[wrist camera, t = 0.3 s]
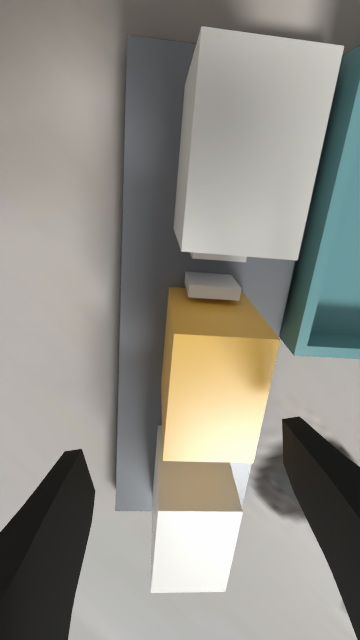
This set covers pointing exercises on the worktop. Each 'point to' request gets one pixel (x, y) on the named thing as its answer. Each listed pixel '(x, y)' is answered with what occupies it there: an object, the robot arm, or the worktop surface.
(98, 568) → the worktop surface
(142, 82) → the board
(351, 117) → the tray
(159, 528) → the block
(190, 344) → the yellow rectangular block
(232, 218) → the block
